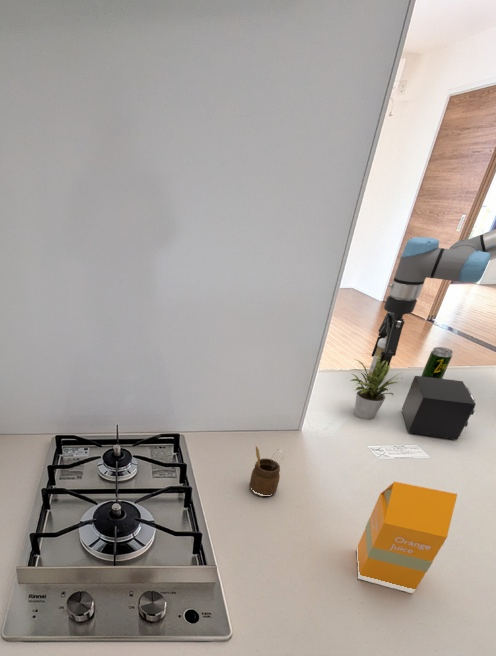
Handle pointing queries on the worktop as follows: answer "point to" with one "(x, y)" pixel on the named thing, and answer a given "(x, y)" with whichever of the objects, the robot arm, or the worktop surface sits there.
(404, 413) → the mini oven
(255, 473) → the utensil holder
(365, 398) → the house plant
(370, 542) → the orange juice
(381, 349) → the sprinkles bottle
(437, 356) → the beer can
